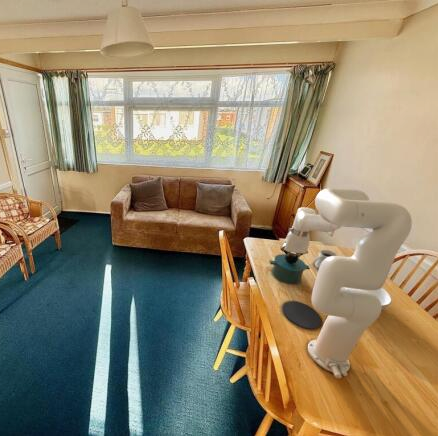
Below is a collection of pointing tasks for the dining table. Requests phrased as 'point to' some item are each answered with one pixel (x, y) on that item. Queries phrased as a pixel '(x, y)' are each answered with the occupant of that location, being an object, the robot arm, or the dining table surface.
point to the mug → (322, 257)
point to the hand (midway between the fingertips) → (290, 261)
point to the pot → (286, 274)
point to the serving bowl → (381, 296)
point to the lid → (290, 263)
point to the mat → (301, 315)
